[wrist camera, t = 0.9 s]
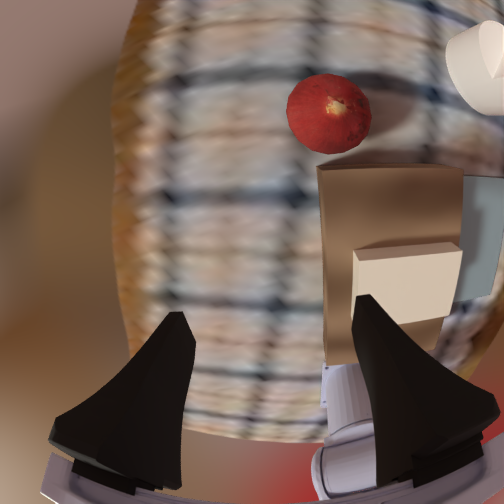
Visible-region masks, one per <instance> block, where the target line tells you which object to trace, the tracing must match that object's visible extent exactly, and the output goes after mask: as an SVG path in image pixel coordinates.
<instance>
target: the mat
mask: <svg viewBox="0 0 504 504" xmlns="http://www.w3.org/2000/svg"><path fill="white" fill-rule="evenodd" d="M503 229H504V178H494V177H480V176H463V208H462V222H461V232H460V241H459V248H460V249H461V250H462V251H463V252H462V259H461V265H460V270H459V275H458V280H457V285H456V290H455V294H454V298H453V302H452V303H454V302H459V301H464V300H469V299H473V298H478V297H482V296H487V295H490V293H491V289H492V285H493V281H494V277H495V273H496V269H497V264H498V259H499V254H500V249H501V243H502V236H503Z"/></svg>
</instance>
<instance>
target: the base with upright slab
mask: <svg viewBox="0 0 504 504" xmlns="http://www.w3.org/2000/svg"><path fill="white" fill-rule="evenodd" d="M446 62H447V68H448V71H449V73H450V76H451V79H452V81H453V83H454V85H455V86H456V88H457V90H458V92H459V93H460V94H461V96H462V97H463V99H464V100H465V101H466V102H467V103H468V104H469V105H470V106H471V107H472V108H473V109H475V110H476V111H478V112H479V113H482V114H485V115H504V26H503V25H502V24H500V23H498V22H495V21H491V20H489V21H484V22H482V23H480V24H478V25H476V26H474V27H472V28H470V29H468V30H466V31H464V32H462V33H460V34H458V35H456V36H454V37H452V38H451V39H450V40H449V41H448V44H447V47H446Z"/></svg>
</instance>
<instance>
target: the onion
mask: <svg viewBox="0 0 504 504" xmlns="http://www.w3.org/2000/svg"><path fill="white" fill-rule="evenodd" d="M286 114H287V118H288V122H289V127H290V128H291V130H292V131H293V133H294V134H295V136H296V137H297V139H298V141H300V142H301V143H303V144H304V145H305V146H307V147H308V148H309V149H311V150H312V151H316V152H320V153H324V154H336V153H344V152H346V151H348V150H350V149H352V148H354V147H356V146H358V145H359V144H360V143H361V141H362V140H363V139H364V138H365V137H366V135H367V134H368V131H369V127H370V123H371V118H372V117H371V112H370V107H369V102H368V99H367V98H366V96H365V95H364V94H363V93H362V91H361V90H360V89H359V88H358V86H357V85H355V84H354V83H352V82H350V81H349V80H347V79H346V78H344V77H342V76H337V75H333V74H321V75H315V76H311V77H309V78H307V79H305V80H303V81H301V82H299V83H298V84H297V85H296V87H295V88H294V90H293V91H292V93H291V94H290V95H289V97H288V103H287V109H286Z"/></svg>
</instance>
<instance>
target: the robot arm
mask: <svg viewBox="0 0 504 504" xmlns="http://www.w3.org/2000/svg"><path fill="white" fill-rule="evenodd" d="M351 331H352V336H353V342H354V347H355V351H356V355H357V358H358V361H359V363H352V364H343V365H333V366H326V361H324V362H323V369H322V389H321V404H320V405H321V407H322V408H326V407H327V415H328V432H329V437H326V438H324V447H320V448H318V450H317V451H316V453H315V454H314V456H313V459H312V465H311V466H312V467H311V469H312V470H311V472H312V480H313V484H314V487H315V490H316V492H317V493H318V497H319V501H314V502H304V503H291V504H482V503H483V502H485V501H486V500H487V499H489V498H490V497H492V496H493V495H494V494H496V493H497V492H498V491H500V490H501V489H502V488H504V432H503V433H501V434H499V435H498V436H496V437H495V438H493V439H492V440H490V441H489V442H487V443H485V444H483V445H482V446H481V443H480V441H481V440H482V439H483V435H482V431H483V430H484V429H485V428H487V427H488V426H489V425H490V424H492V423H493V422H494V421H495V420H496V419H497V418H498V417H499V415H500V409H499V407H498V404H497V402H496V399H495V397H494V395H493V394H492V393H489V392H487V391H485V390H483V389H481V388H479V387H477V386H474V385H473V384H471V383H469V382H468V381H466V380H464V379H462V378H461V377H459V376H458V375H456V374H455V373H453V372H452V371H450V370H449V369H447V368H446V367H444V366H443V365H442V364H440V363H439V362H438V361H436V360H435V359H434V358H433V357H431V356H430V355H429V354H428V353H427V352H425V351H424V350H423V349H422V348H421V347H420V346H419V345H418V344H417V343H416V342H414V341H413V340H412V339H411V338H410V337H409V336H408V335H407V334H406V333H405V332H404V331H403V330H402V329H401V327H400V326H399V325H398V324H397V323H396V322H395V321H394V320H393V319H392V318H391V317H390V316H389V315H388V313H387V312H386V311H385V310H384V309H383V308H382V307H381V306H380V304H379V303H378V302H377V301H376V300H375V299H374V298H373V296H372V295H371V294H365V295H358V296H356V300H355V307H354V314H353V320H352V327H351ZM195 348H196V341H195V339H194V336H193V334H192V332H191V330H190V327H189V325H188V323H187V321H186V318H185V316H184V314H183V311H182V312H169V314H168V315H167V316H166V317H165V318H164V320H163V321H162V322H161V324H160V325H159V326H158V327H157V329H156V330H155V331H154V332H153V334H152V335H151V336H150V338H149V339H148V340H147V341H146V343H145V344H144V345H143V346H142V347H141V349H140V350H139V351H138V352H137V353H136V354H135V356H134V357H133V358H132V359H131V360H130V361H129V363H128V364H127V365H126V366H125V367H124V368H123V369H122V370H121V371H120V372H119V373H118V374H117V375H116V376H115V377H114V378H113V379H111V380H110V381H109V382H108V383H107V384H106V385H105V386H103V387H102V388H101V389H100V390H99V391H97V392H96V393H95V394H94V395H92V396H91V397H89V398H88V399H87V400H85V401H84V402H82V403H81V404H79V405H78V406H76V407H74V408H73V409H71V410H69V411H67V412H66V413H64V414H62V415H60V416H58V417H56V419H55V422H54V425H53V427H52V430H51V433H50V435H49V438H48V441H49V443H51V444H52V445H53V446H55V447H57V448H58V449H60V450H61V451H63V452H64V453H66V454H68V455H70V456H71V457H74V458H75V460H74V463H73V462H71V461H69V460H67V459H65V458H63V457H61V456H59V455H57V454H55V453H53V452H52V453H51V455H50V458H49V461H48V465H47V468H46V471H45V475H44V479H43V482H42V486H41V490H40V492H41V494H43V495H44V496H46V497H47V498H49V499H50V500H52V501H54V502H55V503H57V504H232V503H220V502H210V501H202V500H195V499H188V498H182V497H177V496H172V495H167V494H162V493H157V492H154V490H155V489H158V490H163V488H167V489H172V490H177V489H179V488H180V487H181V486H182V482H181V431H182V420H183V411H184V405H185V401H186V396H187V392H188V387H189V383H190V379H191V374H192V370H193V365H194V359H195ZM373 487H374V488H373ZM370 488H371V489H370ZM366 489H367V490H366ZM362 490H363V491H362ZM353 492H354V493H353Z"/></svg>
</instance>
